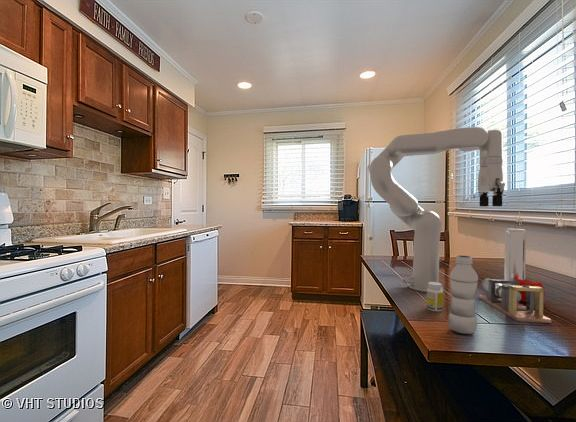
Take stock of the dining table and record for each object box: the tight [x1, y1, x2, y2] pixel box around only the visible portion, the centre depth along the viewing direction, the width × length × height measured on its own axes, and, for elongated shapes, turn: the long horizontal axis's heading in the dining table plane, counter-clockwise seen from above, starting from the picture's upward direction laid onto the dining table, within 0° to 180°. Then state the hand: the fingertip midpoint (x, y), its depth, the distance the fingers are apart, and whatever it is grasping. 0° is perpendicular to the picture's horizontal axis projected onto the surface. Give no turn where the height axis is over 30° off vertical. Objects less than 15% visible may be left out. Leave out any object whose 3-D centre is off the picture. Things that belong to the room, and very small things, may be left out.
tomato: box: [516, 278, 546, 304], centre depth 107 cm, size 9×9×8 cm
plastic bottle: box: [448, 254, 479, 335], centre depth 80 cm, size 6×7×20 cm
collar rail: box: [478, 278, 552, 324], centre depth 99 cm, size 9×23×9 cm, turn 172°
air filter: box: [503, 228, 527, 285], centre depth 119 cm, size 6×6×25 cm
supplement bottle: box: [426, 282, 444, 313], centre depth 98 cm, size 5×5×8 cm
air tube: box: [481, 277, 521, 303], centre depth 106 cm, size 5×16×5 cm, turn 173°
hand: (490, 206), depth 119 cm, fingers open, 9 cm apart
